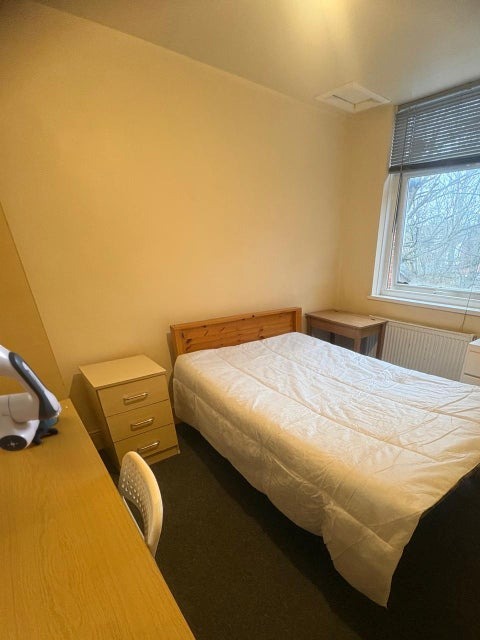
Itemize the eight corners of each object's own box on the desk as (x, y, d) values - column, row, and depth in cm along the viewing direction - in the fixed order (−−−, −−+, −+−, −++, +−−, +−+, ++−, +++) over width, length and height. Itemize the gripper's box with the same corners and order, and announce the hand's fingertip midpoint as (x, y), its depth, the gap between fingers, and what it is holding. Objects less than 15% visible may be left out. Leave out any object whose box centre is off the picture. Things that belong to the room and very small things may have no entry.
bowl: (21, 432, 125) (16, 419, 122) (27, 419, 134) (22, 407, 131) (55, 426, 130) (50, 413, 127) (59, 414, 138) (54, 402, 135)
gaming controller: (39, 444, 117) (25, 433, 116) (33, 451, 119) (19, 440, 118) (60, 430, 126) (47, 420, 124) (55, 437, 128) (42, 427, 126)
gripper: (56, 408, 117) (61, 393, 128) (-17, 419, 109) (-5, 402, 120) (61, 422, 120) (65, 407, 131) (-10, 434, 111) (1, 416, 122)
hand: (31, 404), depth 125 cm, fingers open, 8 cm apart
